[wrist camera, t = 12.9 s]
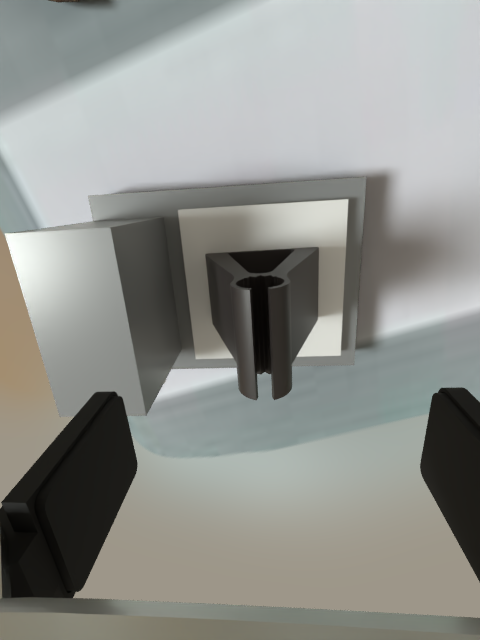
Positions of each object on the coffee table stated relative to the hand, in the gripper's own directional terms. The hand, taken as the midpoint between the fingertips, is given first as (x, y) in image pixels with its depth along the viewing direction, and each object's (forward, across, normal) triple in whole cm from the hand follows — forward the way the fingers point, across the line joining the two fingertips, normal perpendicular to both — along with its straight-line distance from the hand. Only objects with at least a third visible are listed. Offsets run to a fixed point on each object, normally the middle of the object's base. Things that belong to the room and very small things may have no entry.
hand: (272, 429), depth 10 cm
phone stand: (+18, 0, 0) cm, 19 cm away
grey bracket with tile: (+22, +3, +1) cm, 23 cm away
